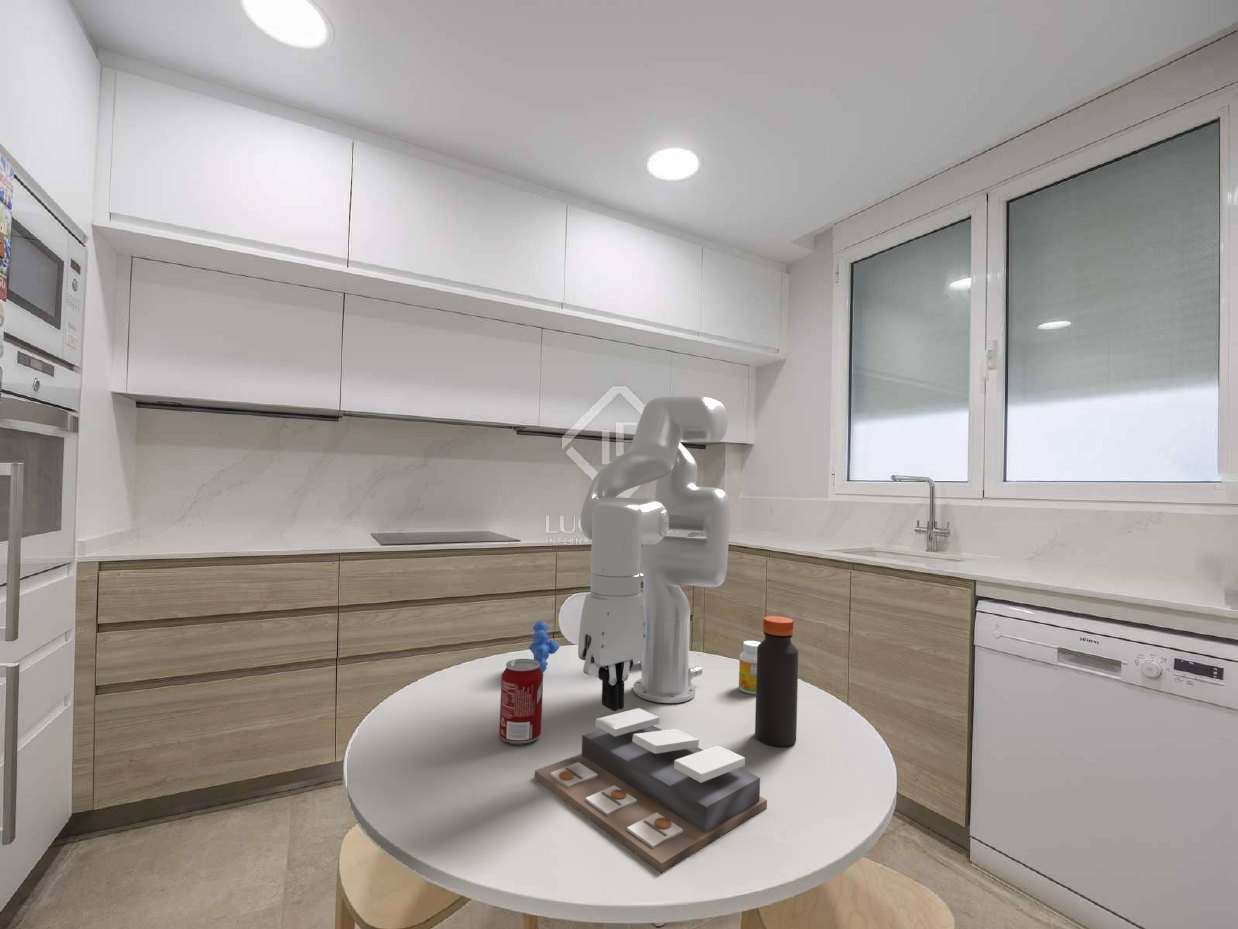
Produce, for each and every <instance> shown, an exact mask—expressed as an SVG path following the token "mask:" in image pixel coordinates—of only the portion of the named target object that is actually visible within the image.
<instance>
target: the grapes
mask: <svg viewBox="0 0 1238 929" xmlns="http://www.w3.org/2000/svg"><path fill="white" fill-rule="evenodd" d="M532 629H533V631H534V633H533V634H532V636H531V638H532V640H533V642H531V644H530V645H528V649H529V651H530V652H531V653H532V655H533V660H536V661H538V662H539V663H540V666H539V667H540V669H541V671H542V672H543V674H544V673H545V671H546V670H547V669H548V667H547V666H548V664H549V663H548V662H547V660H548V659H549V657H550V655H553V654H555V653H556V652H557V651H559V649H560V645H559V644H558V642H557V641H556V640H554V639H551V640H550V636H549V634H548V633H547V631H548V630H549V626H548V624H547V623H546V622H545V621H543V620H540V621H537V622H536V623H535V624H533V627H532Z"/></svg>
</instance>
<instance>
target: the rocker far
mask: <svg viewBox="0 0 1238 929" xmlns="http://www.w3.org/2000/svg"><path fill="white" fill-rule="evenodd" d="M659 723H660V717H659V716H657V715H656V714H653V713H650V712H649V711H647V710H644V709H643V708H640V707H637V708H634V709H630V710H629V709H628V710H625V711H623V712H622V711H621V712H618V713H614V714H611V715H607V716H602V717H599V718H595V727H596V728H598V729H602V730H604V731H606V732H608V733H609V734H611V735H613V736H619V735H622V734H626V733H629V732H633V731H636V730H640V729H643V728H646V727H650V726H656V725H659Z"/></svg>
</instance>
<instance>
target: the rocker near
mask: <svg viewBox="0 0 1238 929" xmlns="http://www.w3.org/2000/svg"><path fill="white" fill-rule="evenodd" d="M702 750H703V751H700V752H697V753H694V754H691V755H688V756H685V757H682V758H679V759H676V760H675V761H674V768H675V769H677V770H678V771H680V772H682V773H684V774H686V775H688V776H689V777H691V778H693V779H695V780H697V781H699V782H700V783H702V782H704V781H707V780H709V779H712V778H714V777H717V776H719V775H722V774H724V773H727V772H730V771H732V770H735V769H737V768H743V767H745V766H746V765H745V764H746V757H745V756H742V755H741V754H738V753H736V752H734V751H732V750H729V749H727V748H725V747H723V746H720V745H715V746H712V747H710V748H706V749H702Z"/></svg>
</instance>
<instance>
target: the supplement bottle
mask: <svg viewBox="0 0 1238 929" xmlns="http://www.w3.org/2000/svg"><path fill="white" fill-rule="evenodd" d="M760 643H761V642H760V641H756V640H745V641H743V643H742V644H743V645H742V649H743V651H742V652H741V653H739V671H738V689H739V690H740V691H741V692H743V693H746V694H749V695H756V676H757V648H758V645H759V644H760Z"/></svg>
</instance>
